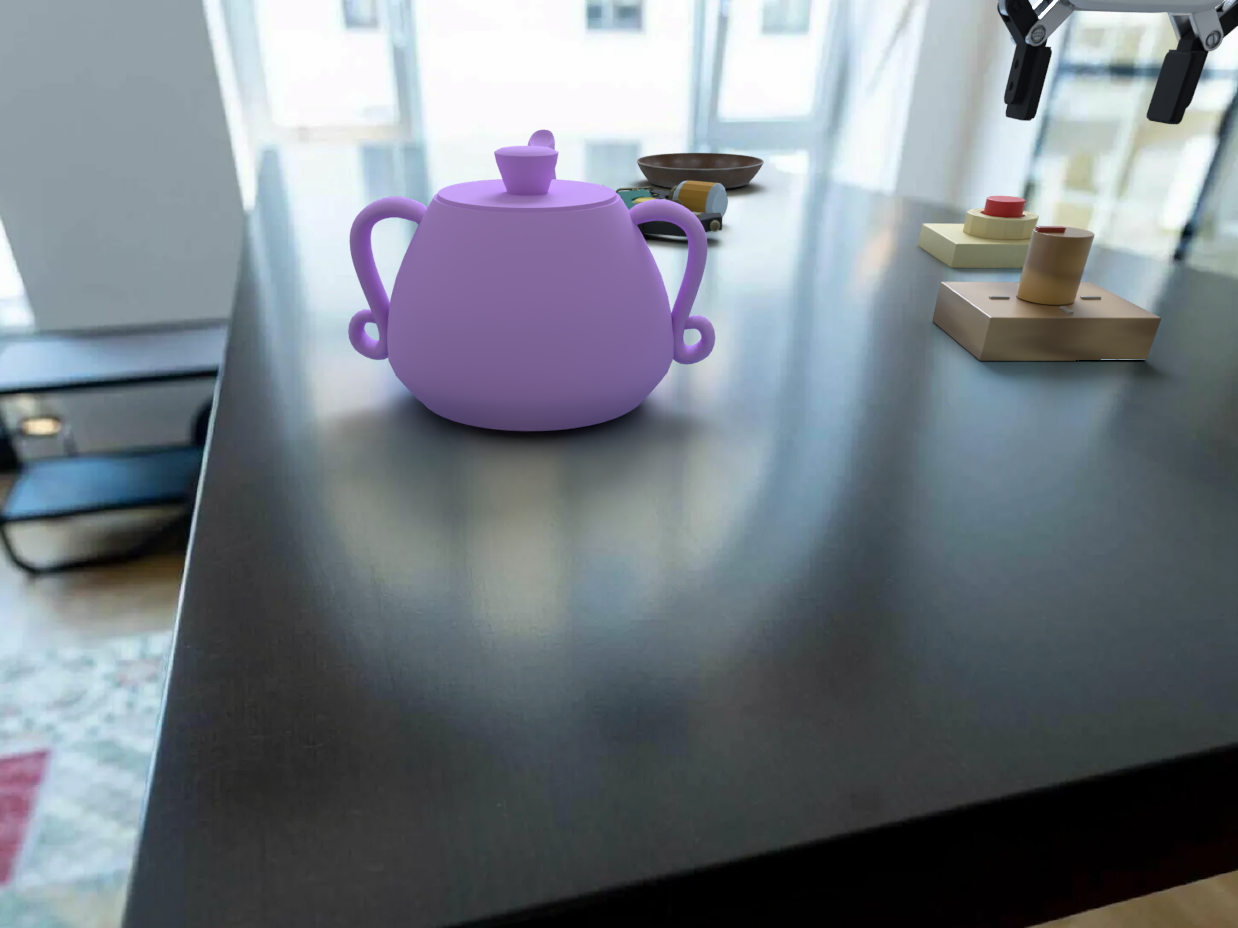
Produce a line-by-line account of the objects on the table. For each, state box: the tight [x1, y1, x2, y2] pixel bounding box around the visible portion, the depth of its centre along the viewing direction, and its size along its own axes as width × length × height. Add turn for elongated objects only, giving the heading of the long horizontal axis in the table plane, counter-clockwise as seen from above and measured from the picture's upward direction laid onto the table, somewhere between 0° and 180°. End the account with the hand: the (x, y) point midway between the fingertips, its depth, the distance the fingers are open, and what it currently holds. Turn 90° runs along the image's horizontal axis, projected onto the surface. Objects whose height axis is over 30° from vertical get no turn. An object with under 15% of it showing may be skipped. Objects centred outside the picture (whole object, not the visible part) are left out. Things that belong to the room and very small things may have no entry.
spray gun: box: [615, 181, 729, 238], centre depth 100 cm, size 4×17×15 cm
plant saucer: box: [636, 152, 765, 190], centre depth 127 cm, size 18×18×3 cm
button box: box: [917, 207, 1040, 269], centre depth 90 cm, size 12×10×4 cm
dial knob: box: [1016, 225, 1096, 305], centre depth 65 cm, size 4×4×5 cm
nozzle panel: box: [931, 281, 1162, 362], centre depth 67 cm, size 12×10×3 cm
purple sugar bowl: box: [347, 129, 716, 432], centre depth 54 cm, size 22×22×14 cm
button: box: [983, 195, 1027, 218], centre depth 88 cm, size 4×4×2 cm
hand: (1090, 120), depth 60 cm, fingers open, 9 cm apart
